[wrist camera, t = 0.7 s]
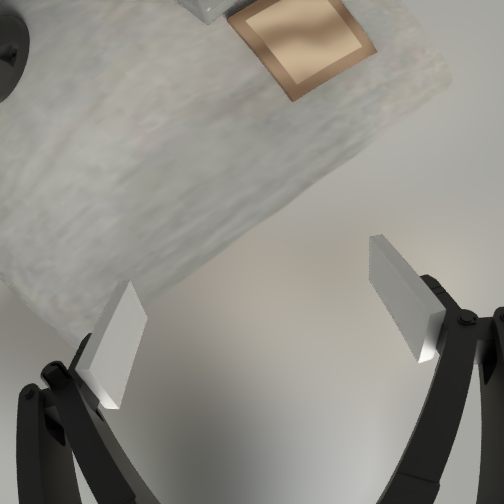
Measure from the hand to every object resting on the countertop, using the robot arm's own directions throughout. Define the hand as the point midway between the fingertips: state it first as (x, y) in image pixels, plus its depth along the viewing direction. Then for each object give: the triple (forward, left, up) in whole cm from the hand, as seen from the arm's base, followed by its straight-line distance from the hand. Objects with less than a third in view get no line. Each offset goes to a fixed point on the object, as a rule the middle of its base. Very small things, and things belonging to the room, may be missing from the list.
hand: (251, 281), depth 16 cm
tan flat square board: (-11, +17, -25) cm, 32 cm away
